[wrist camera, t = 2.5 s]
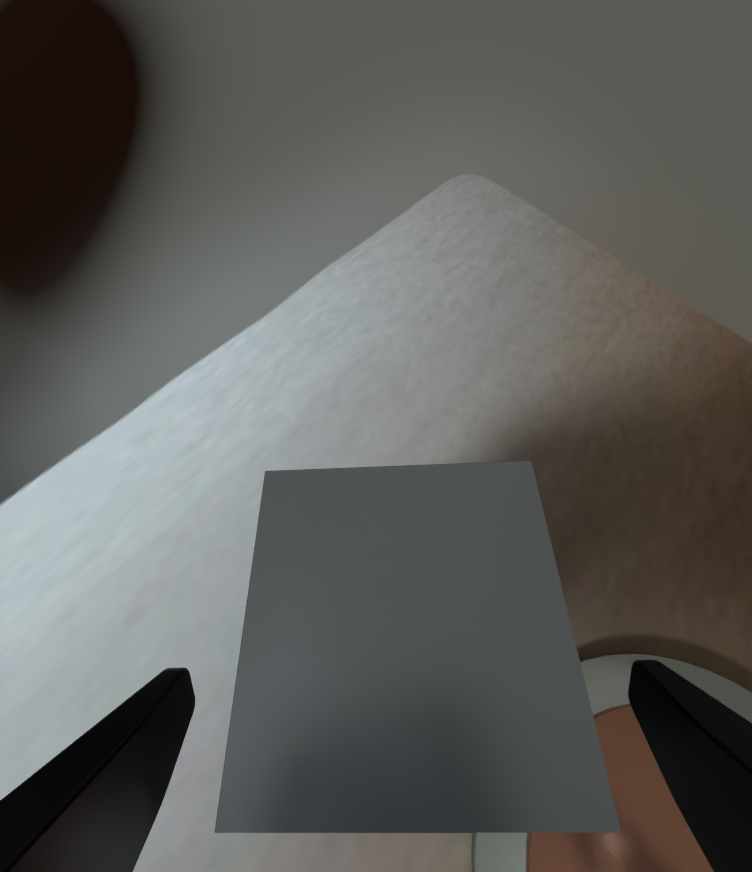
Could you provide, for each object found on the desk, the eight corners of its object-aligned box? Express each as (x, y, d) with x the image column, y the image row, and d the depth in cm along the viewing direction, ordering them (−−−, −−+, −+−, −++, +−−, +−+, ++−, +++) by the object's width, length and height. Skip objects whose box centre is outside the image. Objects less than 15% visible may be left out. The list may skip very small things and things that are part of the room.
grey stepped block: (488, 735, 14) (724, 936, 4) (325, 736, 14) (130, 930, 4) (466, 565, 17) (565, 420, 7) (332, 569, 17) (229, 435, 7)
